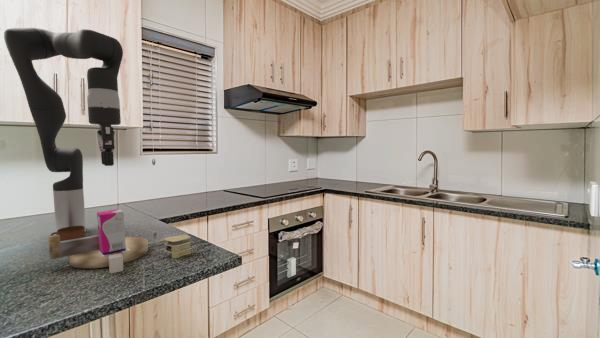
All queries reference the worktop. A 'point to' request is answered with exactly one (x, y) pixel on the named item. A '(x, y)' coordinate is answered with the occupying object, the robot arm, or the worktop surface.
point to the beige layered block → (178, 245)
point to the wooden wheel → (93, 250)
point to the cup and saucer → (71, 233)
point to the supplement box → (111, 231)
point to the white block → (115, 263)
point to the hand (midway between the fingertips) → (107, 165)
